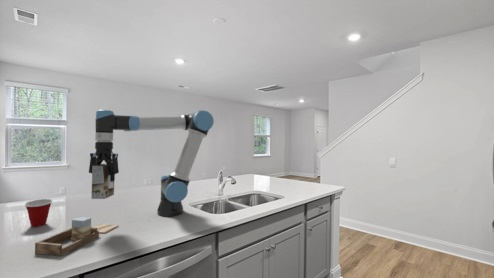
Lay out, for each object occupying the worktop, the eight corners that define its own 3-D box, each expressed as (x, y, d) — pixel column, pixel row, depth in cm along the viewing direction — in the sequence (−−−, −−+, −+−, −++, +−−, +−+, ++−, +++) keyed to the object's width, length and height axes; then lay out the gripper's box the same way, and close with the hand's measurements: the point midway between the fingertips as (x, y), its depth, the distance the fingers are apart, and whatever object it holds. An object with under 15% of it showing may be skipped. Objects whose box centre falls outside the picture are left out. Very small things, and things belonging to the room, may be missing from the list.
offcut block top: (91, 224, 104) (91, 218, 104) (83, 227, 100) (83, 220, 100) (80, 223, 105) (80, 216, 105) (71, 226, 101) (71, 219, 101)
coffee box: (105, 199, 110) (105, 165, 110) (90, 199, 109) (91, 165, 109) (114, 194, 119) (115, 163, 119) (101, 194, 118) (102, 163, 118)
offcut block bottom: (90, 237, 104) (90, 231, 104) (82, 241, 100) (83, 234, 100) (79, 236, 105) (79, 230, 105) (71, 240, 101) (71, 233, 101)
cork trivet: (118, 226, 118) (118, 225, 118) (104, 233, 109) (104, 232, 109) (100, 225, 119) (100, 224, 119) (86, 232, 110) (86, 230, 110)
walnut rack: (98, 236, 105) (99, 227, 105) (61, 256, 87) (61, 245, 87) (75, 234, 107) (76, 226, 107) (34, 253, 89) (35, 242, 89)
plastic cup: (19, 230, 111) (20, 205, 111) (28, 223, 121) (29, 200, 121) (48, 226, 116) (49, 203, 116) (54, 220, 126) (55, 198, 126)
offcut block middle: (91, 231, 104) (91, 224, 104) (83, 234, 100) (83, 227, 100) (80, 229, 105) (80, 223, 105) (71, 233, 102) (71, 226, 102)
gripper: (79, 141, 112) (79, 188, 112) (117, 141, 109) (116, 190, 109) (92, 141, 119) (91, 185, 119) (127, 141, 116) (126, 187, 116)
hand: (103, 187), depth 114 cm, fingers closed on coffee box, 7 cm apart
